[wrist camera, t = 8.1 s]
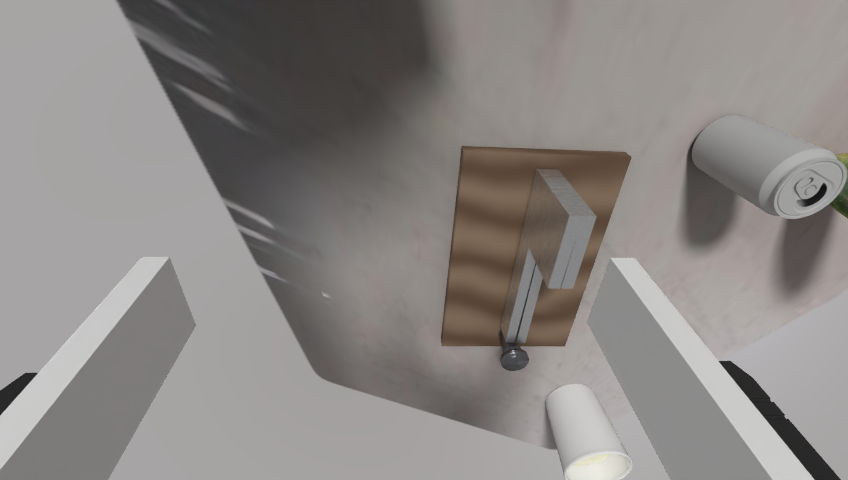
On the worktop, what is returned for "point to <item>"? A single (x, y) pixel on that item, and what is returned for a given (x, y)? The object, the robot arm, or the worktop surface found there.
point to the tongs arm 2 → (574, 259)
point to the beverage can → (769, 166)
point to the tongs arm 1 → (541, 245)
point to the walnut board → (517, 239)
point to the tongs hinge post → (512, 355)
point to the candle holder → (585, 435)
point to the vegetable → (844, 201)
